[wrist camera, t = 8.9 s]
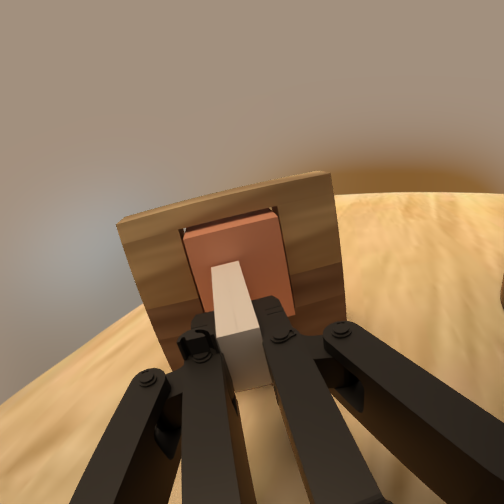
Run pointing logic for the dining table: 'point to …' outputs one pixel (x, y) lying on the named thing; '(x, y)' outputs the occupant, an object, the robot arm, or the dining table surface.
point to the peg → (241, 255)
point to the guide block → (230, 204)
